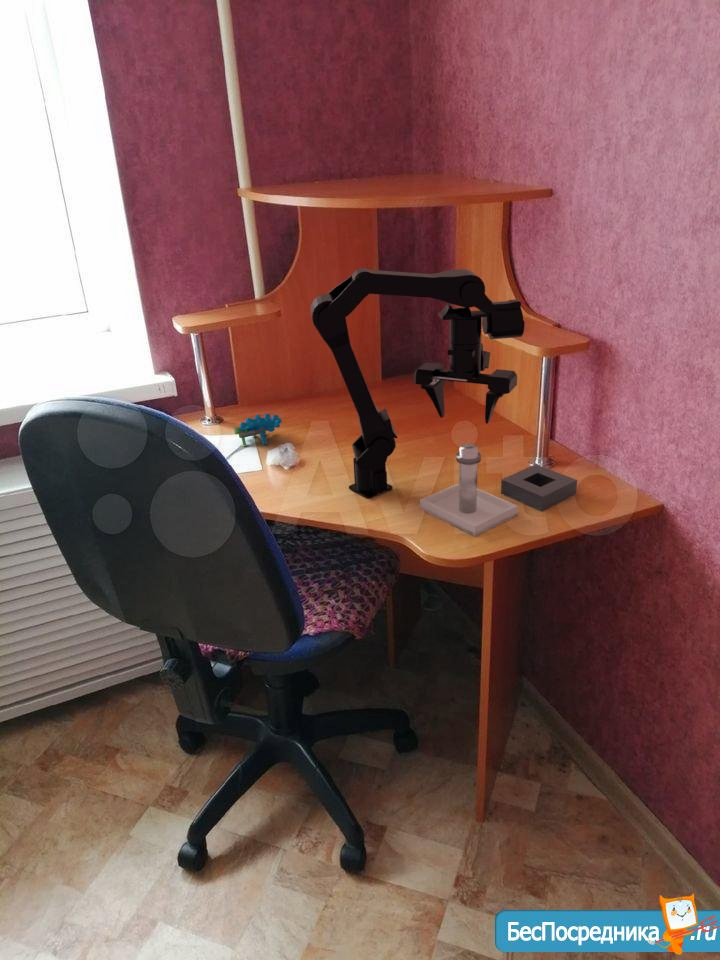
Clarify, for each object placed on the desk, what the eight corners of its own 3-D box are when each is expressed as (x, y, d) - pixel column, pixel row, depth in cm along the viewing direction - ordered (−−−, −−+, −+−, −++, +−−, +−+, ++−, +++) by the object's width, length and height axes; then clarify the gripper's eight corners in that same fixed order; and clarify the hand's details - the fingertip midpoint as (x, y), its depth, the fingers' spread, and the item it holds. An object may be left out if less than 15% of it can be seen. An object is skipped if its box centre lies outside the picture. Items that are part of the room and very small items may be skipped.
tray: (420, 508, 141) (420, 499, 140) (462, 490, 147) (462, 481, 146) (474, 536, 131) (474, 526, 130) (517, 515, 137) (517, 505, 136)
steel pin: (451, 506, 140) (451, 445, 135) (472, 502, 141) (473, 440, 136) (462, 517, 136) (463, 453, 131) (484, 511, 138) (485, 449, 132)
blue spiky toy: (282, 424, 179) (277, 407, 170) (288, 446, 178) (283, 430, 168) (237, 435, 179) (229, 418, 169) (242, 457, 177) (234, 442, 167)
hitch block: (500, 493, 145) (501, 479, 144) (534, 477, 151) (535, 464, 149) (541, 511, 138) (542, 496, 137) (576, 494, 143) (577, 480, 142)
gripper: (527, 333, 141) (523, 411, 148) (434, 326, 149) (434, 401, 156) (509, 349, 132) (506, 431, 139) (412, 341, 140) (413, 419, 147)
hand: (464, 420), depth 145 cm, fingers open, 9 cm apart
